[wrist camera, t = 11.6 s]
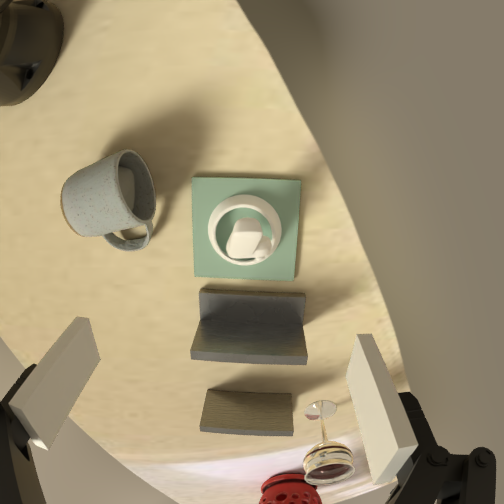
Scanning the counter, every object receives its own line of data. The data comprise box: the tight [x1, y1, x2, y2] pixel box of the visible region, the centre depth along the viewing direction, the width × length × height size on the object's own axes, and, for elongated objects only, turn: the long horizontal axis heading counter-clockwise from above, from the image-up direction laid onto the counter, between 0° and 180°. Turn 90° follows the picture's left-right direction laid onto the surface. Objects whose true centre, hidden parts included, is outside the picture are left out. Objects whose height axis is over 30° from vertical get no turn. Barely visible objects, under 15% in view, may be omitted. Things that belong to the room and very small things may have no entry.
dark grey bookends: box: [190, 289, 308, 436], centre depth 37 cm, size 21×12×7 cm, turn 178°
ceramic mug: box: [60, 149, 156, 251], centre depth 30 cm, size 11×8×8 cm
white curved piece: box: [208, 194, 282, 266], centre depth 29 cm, size 8×12×7 cm
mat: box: [192, 177, 301, 281], centre depth 33 cm, size 11×11×1 cm
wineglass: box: [303, 401, 355, 485], centre depth 38 cm, size 7×7×12 cm
